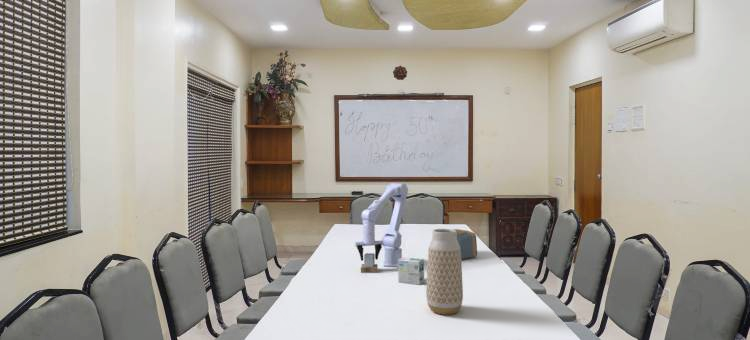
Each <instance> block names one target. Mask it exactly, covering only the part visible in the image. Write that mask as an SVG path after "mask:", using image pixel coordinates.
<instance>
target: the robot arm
mask: <svg viewBox="0 0 750 340" xmlns="http://www.w3.org/2000/svg"><path fill="white" fill-rule="evenodd" d="M408 192H409V189H408V186H407V184H406V183H398V182H397V183H395V182H390V183H388V185H387V186H386V190H385V191H384V192H383V193H382V195H381V196H380V197H379V198H378V199H375V200H373V202H372V203H371V204H370V205H369V206H368V207H367V209H364V210H362V212H361V215H360V218H361V221H362V225H363V241H355V242H354V247H356V249H357V250H358V253H359V257H360V261H362V262H364V247H368V246H374V251H375V252H374V253H375V260H378V259H379V255H380V252H381V250H382V248H383V249H384V262H383V266H384V267H398V260H399V259H401V258H403V253H402V250H403V249H402V248H400V247H401V246H402V237H403V236H402V234H401V233H400V228H401V223H402V218H403V214H404V210H405V206H406V202H407V196H408ZM390 198H392V199H394V207H393V210H392V213H391V219H390V222H389V226H388V227H389V228H388V229H387V230H385V231H384V233H383V236H382V238H381V240H375V237H376V236H375V235H376V234H375V233H376V232H375V230H376V228H375V223H376V220H377V219H378V215H379V213H380V212H381V211H382V210H383V209H384V208H385V207H384V206H385V204H386V203H387V202H388V201H389V200H390Z"/></svg>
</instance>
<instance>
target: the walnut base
mask: <svg viewBox="0 0 750 340" xmlns="http://www.w3.org/2000/svg"><path fill="white" fill-rule="evenodd" d="M360 273H361V274H377V273H378V263H375V265H374V267H364V263H362V264H361V266H360Z"/></svg>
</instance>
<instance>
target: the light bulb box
mask: <svg viewBox="0 0 750 340" xmlns="http://www.w3.org/2000/svg"><path fill="white" fill-rule="evenodd" d="M424 260H425V259H424V258H415V257H406V256H402V258H401V259H399V260H398V266H397V268H398V272H397V273H398V274H397V275H398V280H397V281H398V283H403V284H411V285H417V286H418V285H421V284H422V283H424V282H425V261H424Z"/></svg>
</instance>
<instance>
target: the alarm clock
mask: <svg viewBox="0 0 750 340" xmlns="http://www.w3.org/2000/svg"><path fill="white" fill-rule="evenodd" d="M452 229H453V228H452ZM453 230H456V231H457V241H458V243H459V245H460V249H461V261H463V260H469V259H474V258H477V256H478V245H477V235H476V233H474V232H472V231H470V230H466V229H459V228H454V229H453Z"/></svg>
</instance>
